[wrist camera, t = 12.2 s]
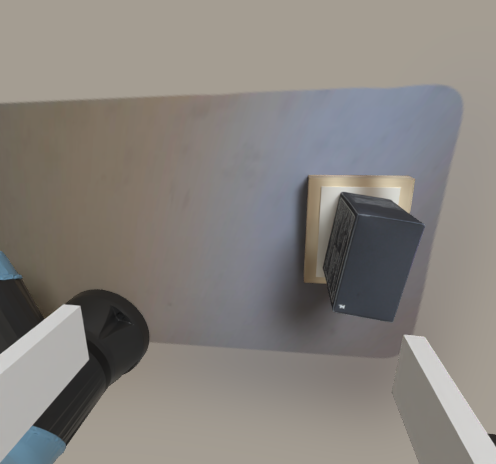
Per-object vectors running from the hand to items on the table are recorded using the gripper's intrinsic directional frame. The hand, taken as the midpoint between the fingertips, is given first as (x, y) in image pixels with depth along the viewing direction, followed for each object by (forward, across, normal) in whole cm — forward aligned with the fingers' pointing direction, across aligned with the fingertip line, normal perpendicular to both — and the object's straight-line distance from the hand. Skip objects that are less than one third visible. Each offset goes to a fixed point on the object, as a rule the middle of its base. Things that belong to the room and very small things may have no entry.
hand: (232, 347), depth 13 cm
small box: (+28, +11, -4) cm, 31 cm away
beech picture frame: (+31, +11, -4) cm, 33 cm away
